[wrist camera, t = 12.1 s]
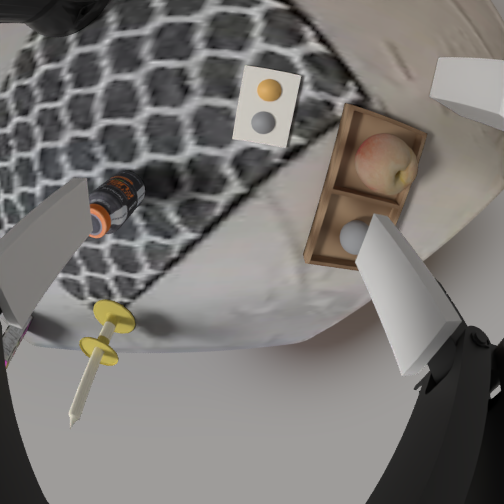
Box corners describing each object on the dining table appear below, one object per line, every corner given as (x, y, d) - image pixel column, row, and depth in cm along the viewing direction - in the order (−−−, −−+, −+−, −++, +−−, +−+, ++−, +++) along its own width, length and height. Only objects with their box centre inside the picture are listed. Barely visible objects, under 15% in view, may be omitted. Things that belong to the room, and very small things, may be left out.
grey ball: (341, 211, 39) (351, 227, 35) (371, 217, 40) (383, 234, 36) (331, 240, 42) (339, 259, 38) (360, 245, 42) (370, 263, 38)
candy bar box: (27, 331, 60) (4, 372, 46) (15, 320, 58) (-9, 361, 44) (34, 317, 56) (7, 363, 42) (21, 305, 54) (-8, 350, 40)
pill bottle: (151, 179, 37) (119, 213, 28) (139, 212, 40) (109, 253, 31) (116, 163, 36) (76, 193, 26) (106, 197, 39) (69, 234, 29)
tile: (245, 65, 29) (244, 65, 28) (300, 75, 30) (301, 75, 29) (232, 138, 34) (232, 139, 34) (285, 147, 35) (286, 148, 34)
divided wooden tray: (344, 103, 31) (350, 104, 29) (418, 130, 32) (427, 133, 30) (303, 254, 44) (305, 263, 42) (369, 264, 45) (374, 272, 43)
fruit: (373, 193, 38) (396, 218, 31) (336, 156, 35) (356, 175, 28) (408, 156, 34) (438, 174, 27) (374, 116, 31) (402, 126, 25)
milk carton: (428, 96, 29) (525, 123, 13) (437, 56, 25) (534, 64, 10) (460, 116, 30) (550, 153, 14) (469, 78, 26) (560, 101, 10)
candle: (101, 291, 49) (45, 408, 27) (143, 318, 53) (104, 439, 30) (88, 315, 53) (42, 418, 31) (125, 338, 57) (90, 444, 34)
